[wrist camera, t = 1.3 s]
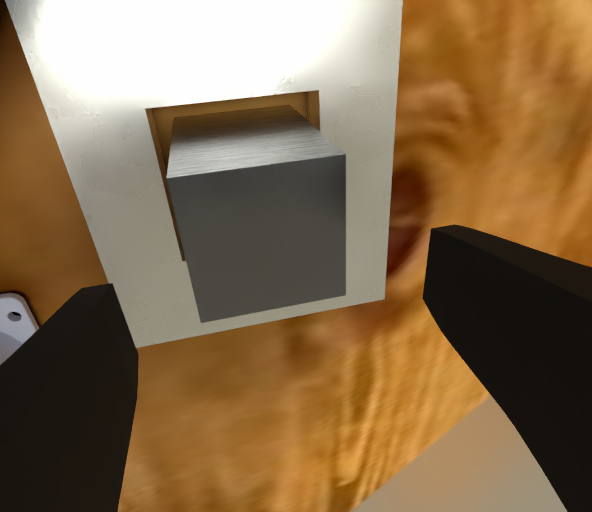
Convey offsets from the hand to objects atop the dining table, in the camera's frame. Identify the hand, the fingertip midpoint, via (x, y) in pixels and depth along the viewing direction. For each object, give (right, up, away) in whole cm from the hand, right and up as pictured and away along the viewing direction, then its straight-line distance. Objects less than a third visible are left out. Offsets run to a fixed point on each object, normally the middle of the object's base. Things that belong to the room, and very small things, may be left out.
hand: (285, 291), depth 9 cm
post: (-2, +5, +8) cm, 9 cm away
